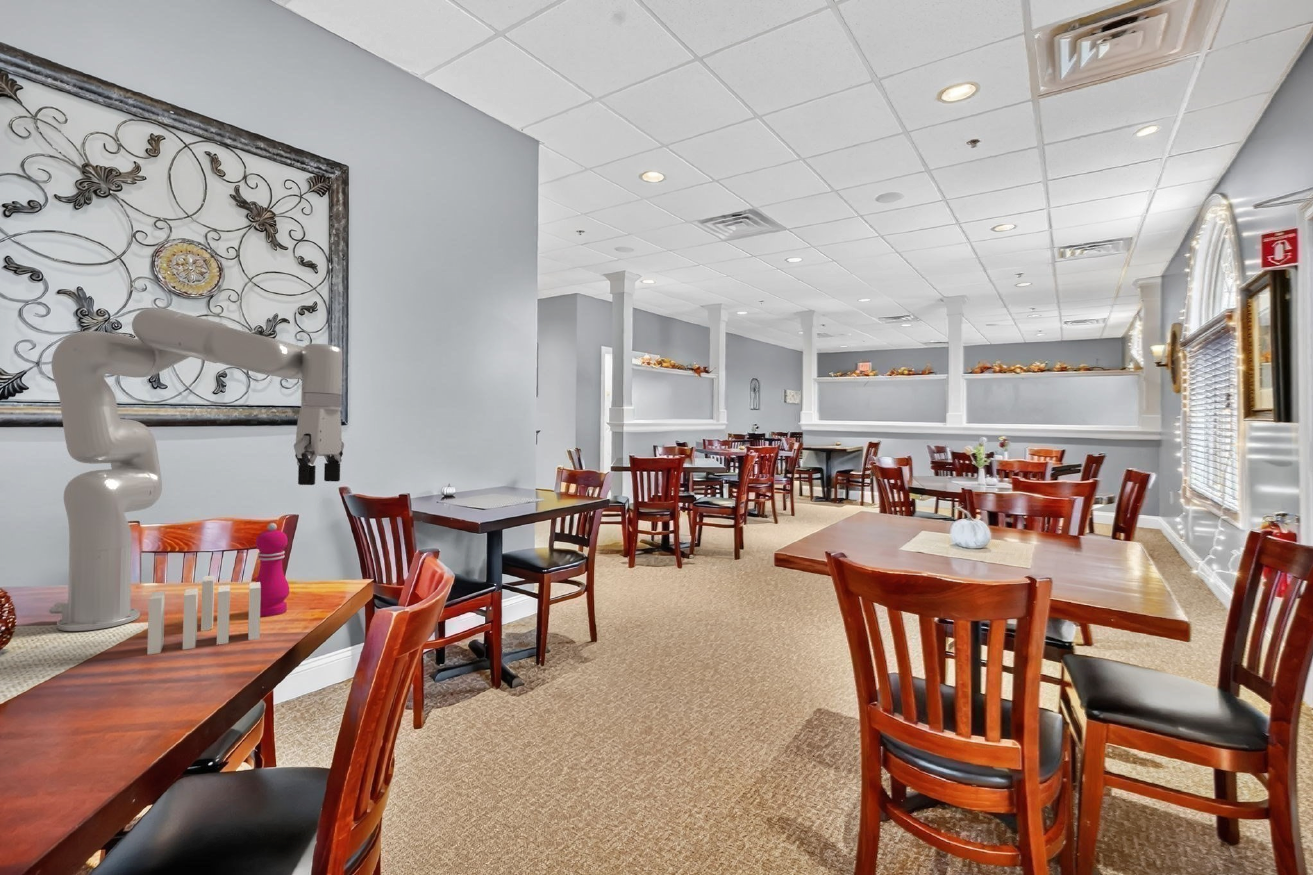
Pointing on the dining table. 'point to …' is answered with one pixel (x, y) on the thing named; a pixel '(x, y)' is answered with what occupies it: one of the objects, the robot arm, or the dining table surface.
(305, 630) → the dining table surface
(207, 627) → the domino loose
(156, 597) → the domino
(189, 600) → the domino
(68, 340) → the robot arm
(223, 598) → the domino
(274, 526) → the pepper mill
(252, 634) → the domino
